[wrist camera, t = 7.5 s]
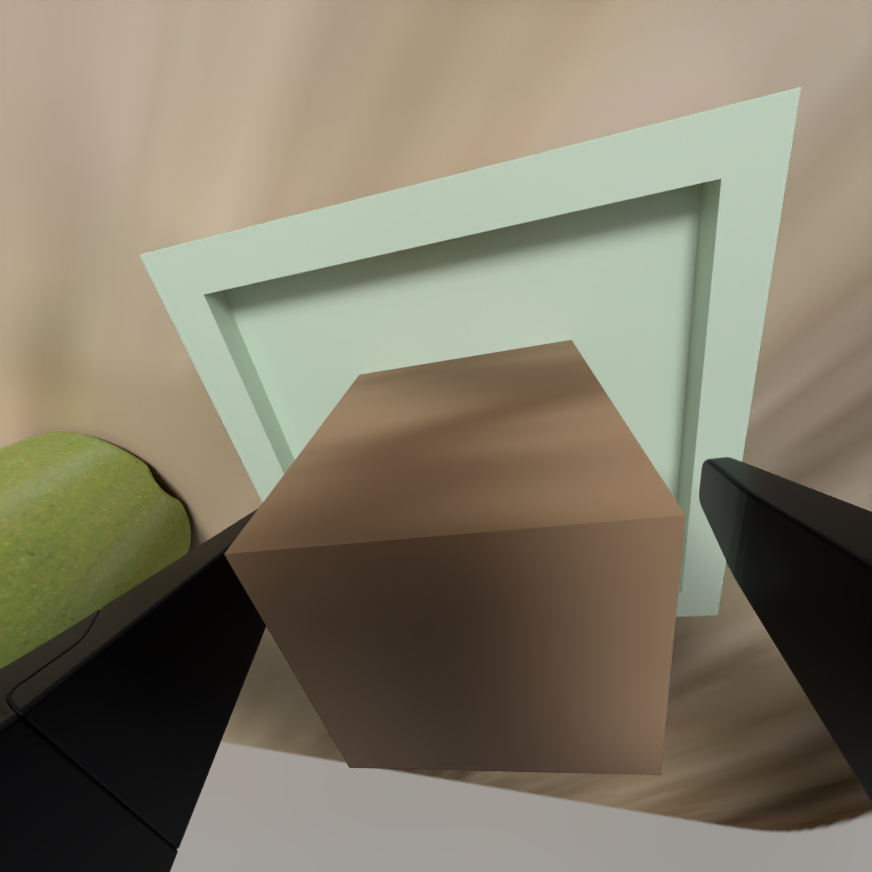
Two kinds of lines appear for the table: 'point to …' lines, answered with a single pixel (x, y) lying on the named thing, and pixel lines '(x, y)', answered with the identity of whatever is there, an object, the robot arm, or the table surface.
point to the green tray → (514, 293)
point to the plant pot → (76, 534)
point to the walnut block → (475, 570)
